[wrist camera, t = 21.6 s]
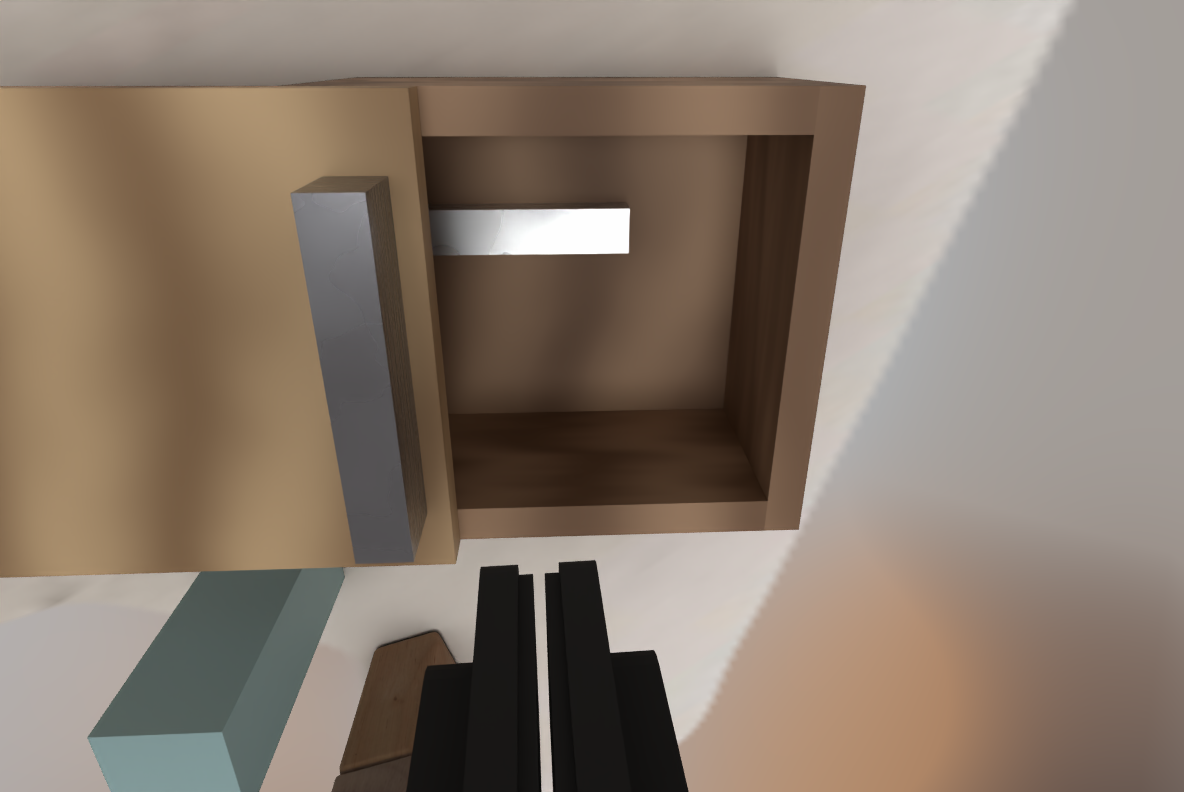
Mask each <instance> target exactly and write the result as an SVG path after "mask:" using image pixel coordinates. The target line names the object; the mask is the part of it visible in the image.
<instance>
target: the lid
mask: <svg viewBox="0 0 1184 792" xmlns="http://www.w3.org/2000/svg"><path fill="white" fill-rule="evenodd" d="M459 545H460V533H459V523H458V512H457V502H456V492H455V481H454V471H453V460H452V450H451V439H450V429H449V418H448V408H447V397H446V387H445V376H444V366H443V356H442V345H441V335H440V324H439V314H438V303H437V293H436V282H435V272H434V261H433V251H432V240H431V230H430V220H429V209H428V199H427V188H426V178H425V167H424V157H423V146H422V136H421V125H420V115H419V104H418V94H417V86H0V578H2V577H35V576H69V575H102V574H135V573H169V572H202V571H235V570H269V569H302V568H335V567H369V566H402V565H435V564H456V560H457V555H458V550H459Z"/></svg>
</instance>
